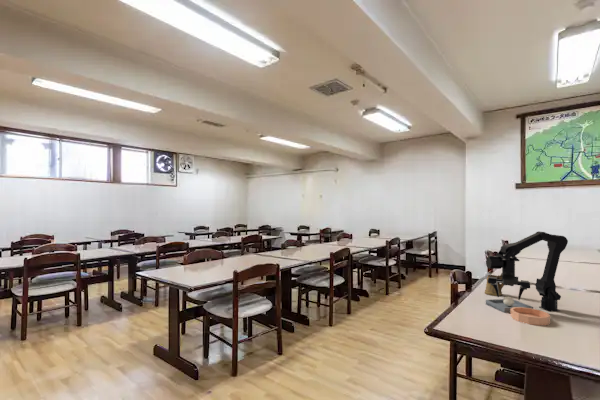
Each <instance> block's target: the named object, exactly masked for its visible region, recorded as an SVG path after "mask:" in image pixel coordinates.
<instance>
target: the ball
mask: <svg viewBox="0 0 600 400" xmlns="http://www.w3.org/2000/svg"><path fill="white" fill-rule="evenodd" d="M513 299H514V298H513V297H511V296H504V298H503V302H504V304H505V305H506V306H512V305H514V300H515V299H514V300H513Z"/></svg>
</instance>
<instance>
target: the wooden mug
mask: <svg viewBox="0 0 600 400" xmlns="http://www.w3.org/2000/svg"><path fill="white" fill-rule="evenodd" d="M488 277H497V279H501V280H502V272H501V274H500V275H499V274H498V275H495V274H488V275H487V277H486V284H485V289H484V294H485V295H488V296H492V297H493V296H494V297H498V296H497V293H496V290H495V288H494V286H493V285H491V284H490V283H488ZM497 284H498V291H499V297H501V296H502V295H503V292H502V290H503V288H504V286H505V285H503V283H497Z"/></svg>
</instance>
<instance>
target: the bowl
mask: <svg viewBox="0 0 600 400" xmlns="http://www.w3.org/2000/svg"><path fill="white" fill-rule="evenodd" d="M509 316H510V318H511V317H512V318H513V319H512V318H511V319H512V320H514V319H515V321H516V322H519V321H520V323H523V322H524V324H526V323H527V325H532V326H548V325H549V324H551V315H550V314H549V313H548V312H547V311H546V312H545V311H544V310H542V309H540V310H539V309H536V308H533V309H532V308H525V307H513V308H511V309H510V315H509Z"/></svg>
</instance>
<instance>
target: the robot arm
mask: <svg viewBox="0 0 600 400" xmlns="http://www.w3.org/2000/svg"><path fill="white" fill-rule="evenodd" d="M542 241H544V242H547V243H546V245H547V248H548V253H547V257H546V261H545V266H544V269H543V273H542V276H541V278H536V281H535V284H534V286H535V290H536V291H537V292H538V294H539V296H541V300H540V306H538V307H539V308H540V309H541V310H545V311H546V312H547V311H548V312H560V311H561V309H558V301H560V300H561V298H562V296H561V294H559V292H557V291H556V289H557V288H556V287H557V286H556V282H555V278H556V277H555V276H556V273H557V269H558V264H559V261H560V256H561V254H562V252H564V250H566V248H567V245H568V244H569V243H568V242H569V240H568V239H567V237H566V236H564V235H559V234H551V233H547V232H545V231H536V232H535V233H533V234H530V235H529V236H526V237H524V238H522V239H519V240H518V241H515V242H511V243H506V244H503V245H502V246H501V247H500V250H499V251H498V252H497V254H496V255H488V256H487V258H486V261H485V265H486V268H488V269H494V270H497V269H498V270H500V269H501V271H502V272H501V273H502V280H501V279H497V277H488V276H487V277H488V283H490V284H491V285H493V286H494V288H495V290H496V293H497V296H496V297H498V298H499V297H500V296H499V291H498V284H497V283H500V284H502V283H503V285H504V286H510V287H514V286H519V291H518V300H517V301H520V299H521V297H522V294H523V293H524V292H525V290H528V289H531V281H529V280H521V279H520V281H519V276H516V262H520V261H521V260H520V259H519V258H518V257H517V255H519V254H520V253H521V252H522V250H524V249H526V248H529V247H530V246H533V245H535V244H538V243H539V242H542Z"/></svg>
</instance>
